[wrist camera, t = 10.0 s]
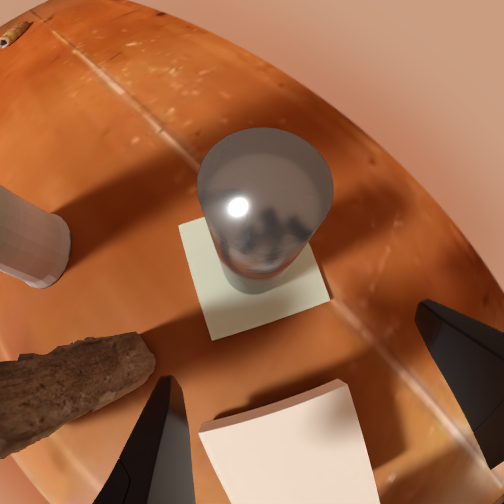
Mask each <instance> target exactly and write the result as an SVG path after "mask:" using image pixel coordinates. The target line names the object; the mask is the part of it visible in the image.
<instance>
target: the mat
mask: <svg viewBox="0 0 504 504" xmlns="http://www.w3.org/2000/svg"><path fill="white" fill-rule="evenodd" d="M178 227H179V230H180V234H181V238H182V242H183V246H184V249H185V253H186V257H187V260H188V264H189V267H190V271H191V274H192V278H193V281H194V285H195V288H196V291H197V295H198V298H199V301H200V305H201V308H202V311H203V314H204V318H205V321H206V324H207V327H208V330H209V333H210V336H211V339H212V341H213V340H216V339H220V338H223V337H226V336H230V335H233V334H236V333H239V332H242V331H245V330H248V329H252V328H255V327H258V326H261V325H264V324H267V323H270V322H272V321H275V320H278V319H281V318H284V317H287V316H290V315H293V314H295V313H298V312H301V311H304V310H306V309H309V308H312V307H314V306H317V305H320V304H322V303H325V302H328V301H330V298H329V295H328V292H327V290H326V287H325V284H324V281H323V279H322V276H321V273H320V271H319V268H318V265H317V263H316V260H315V257H314V255H313V252H312V249H311V247H310V244H309V242H308V243H307V244H306V245H305V247H304V248H303V249H302V251H301V252H300V254H299V255H298V256H297V258H296V259H295V260H294V262H293V263H292V264H291V266H290V267H289V268H288V270H287V271H286V272H285V274H284V275H283V276H282V277H281V279H280V280H279V281H278V283H277V284H276V285H275V286H274V287H273V288H272V289H270V290H269V291H267V292H265V293H262V294H257V295H249V294H244V293H242V292H239V291H238V290H236V289H235V288H233V287H232V286H231V285H230V284H229V282H228V281H227V279H226V277H225V275H224V272H223V269H222V267H221V264H220V261H219V258H218V255H217V252H216V249H215V246H214V243H213V240H212V238H211V235H210V232H209V229H208V226H207V223H206V220H205V217H203V218H200V219H197V220H194V221H191V222H188V223H184V224H181V225H178Z"/></svg>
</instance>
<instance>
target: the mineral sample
mask: <svg viewBox="0 0 504 504" xmlns="http://www.w3.org/2000/svg"><path fill="white" fill-rule="evenodd" d="M155 365H156V360H155V357H154V354H153V353H150V351H149V349H148V348H147V346H146V344H145V343H144V341H143V340H142V338H141V337H140V335H139V334H137V332H130V333H125V334H120V335H115V336H109V337H99V338H94V336H93V337H87V338H85V339H84V341H83V340H77V341H76V342H75V343H74V344H73V342H72V343H71V344H70V345H64V346H58V347H57V348H55V349H54V350H53V351H51V352H50V353H48V354H46V355H39V354H34V353H29V354H20V355H19V358H18V361H3V362H0V459H4V458H5V457H7V456H8V455H9V454H11V453H15V452H19V451H20V450H23V449H24V448H26V447H27V446H29V445H31V444H34V443H35V442H36V441H39V440H40V439H42V438H45V437H48V436H49V435H51V434H52V433H54V432H55V431H56V430H57V429H59V428H60V427H61V426H62V425H64V424H66V423H68V422H70V421H72V420H75V419H77V418H79V417H81V416H82V415H84V414H85V413H87V412H88V411H89V412H94V411H97V410H99V409H100V408H102V407H104V406H106V405H107V404H109V403H111V402H113V401H115V400H117V399H119V398H121V397H122V396H123V395H125V394H128V393H130V392H132V391H133V390H135V389H137V388H138V387H140V386H141V385H143V384H144V383H145V382H146V381H147V379H148V377H149V376H150V375H151V374H152V373H153V372H154V369H155Z"/></svg>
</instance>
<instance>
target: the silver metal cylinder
mask: <svg viewBox="0 0 504 504" xmlns="http://www.w3.org/2000/svg"><path fill="white" fill-rule="evenodd" d="M197 193H198V197H199V201H200V204H201V207H202V211H203V214H204V217H205V220H206V223H207V226H208V229H209V232H210V235H211V238H212V240H213V243H214V246H215V249H216V252H217V255H218V258H219V261H220V264H221V267H222V269H223V272H224V275H225V277H226V279H227V281H228V282H229V284H230V285H231V286H232V287H233V288H235V289H236V290H238V291H239V292H242V293H244V294H249V295H257V294H262V293H265V292H267V291H269V290H270V289H272V288H273V287H274V286H275V285H276V284H277V283H278V281H279V280H280V279H281V277H282V276H283V275H284V274H285V272H286V271H287V270H288V268H289V267H290V266H291V264H292V263H293V262H294V260H295V259H296V258H297V256H298V255H299V254H300V252H301V251H302V249H303V248H304V247H305V245H306V244H307V243H308V241H309V240H310V239H311V237H312V236H313V235H314V233H315V232H316V230H317V229H318V228H319V226H320V225H321V224H322V222H323V221H324V219H325V218H326V216H327V214H328V212H329V210H330V207H331V204H332V200H333V180H332V176H331V172H330V170H329V167H328V165H327V163H326V162H325V160H324V158H323V157H322V156H321V154H320V153H319V152H318V151H317V150H316V149H315V148H314V147H313V146H312V145H311V144H310V143H308V142H307V141H306V140H304V139H303V138H301V137H299V136H297V135H295V134H293V133H291V132H288V131H285V130H281V129H277V128H269V127H256V128H249V129H244V130H241V131H237V132H235V133H232V134H230V135H228V136H227V137H225V138H223V139H222V140H220V141H219V142H218V143H216V144H215V145H214V146H213V147H212V148H211V149H210V151H209V152H208V153H207V155H206V156H205V158H204V160H203V161H202V163H201V166H200V169H199V172H198V177H197Z"/></svg>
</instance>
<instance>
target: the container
mask: <svg viewBox="0 0 504 504" xmlns="http://www.w3.org/2000/svg"><path fill="white" fill-rule="evenodd" d="M70 251H71V233H70V231H69V228H68V225H67V223H66V222H65V221H64V220H63V219H62V218H61V217H60V216H58V215H56V214H54V213H47V212H45V211H43V210H41V209H40V208H38V207H36V206H34V205H33V204H31V203H29V202H28V201H26V200H24V199H23V198H21V197H19V196H17V195H16V194H14V193H12V192H11V191H9V190H8V189H6V188H4V187H3V186H1V185H0V271H1V272H3V273H5V274H8V275H10V276H13V277H15V278H18V279H20V280H23V281H24V282H25V283H27V284H28V285H29V286H31V287H33V288H40V289H43V288H46V287H49V286H51V285H52V284H53V283H54V282H56V281H57V280H58V279H59V277H60V276H61V274H62V273H63V272H64V270H65V268H66V265H67V263H68V260H69V257H70Z"/></svg>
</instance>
